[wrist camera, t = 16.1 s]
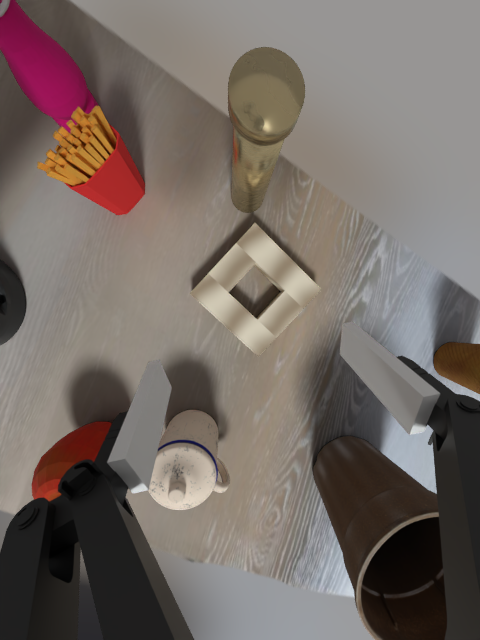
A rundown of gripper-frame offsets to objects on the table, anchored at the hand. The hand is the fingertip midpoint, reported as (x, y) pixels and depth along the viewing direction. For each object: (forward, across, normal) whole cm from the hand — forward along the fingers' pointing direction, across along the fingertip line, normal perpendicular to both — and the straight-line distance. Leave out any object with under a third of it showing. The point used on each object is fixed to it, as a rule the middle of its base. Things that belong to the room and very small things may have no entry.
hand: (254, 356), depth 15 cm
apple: (+12, -25, -21) cm, 35 cm away
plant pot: (+7, +14, -34) cm, 37 cm away
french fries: (+27, -14, +13) cm, 33 cm away
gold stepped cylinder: (+26, +5, +10) cm, 28 cm away
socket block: (+20, +3, -3) cm, 20 cm away
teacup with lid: (+11, -10, -24) cm, 28 cm away
